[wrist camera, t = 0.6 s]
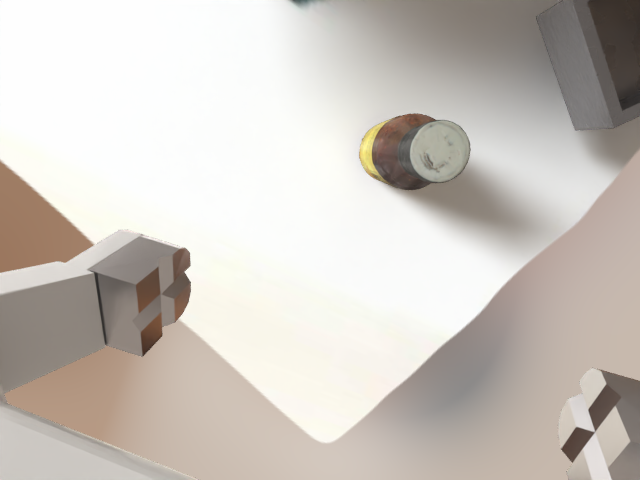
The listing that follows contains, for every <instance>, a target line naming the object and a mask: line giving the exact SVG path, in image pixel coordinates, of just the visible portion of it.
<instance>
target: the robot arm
mask: <svg viewBox="0 0 640 480" xmlns="http://www.w3.org/2000/svg"><path fill="white" fill-rule="evenodd" d="M189 267H190V252H189V251H188V250H187V249H186V248H184V247H181V246H178V245H175V244H171V243H168V242H165V241H162V240H159V239H156V238H153V237H149V236H145V235H143V234H139V233H136V232H133V231H129V230H118V231H117V232H115V233H113V234H112V235H110V236H109V237H107V238H105V239H104V240H102V241H100V242H99V243H97V244H96V245H94V246H92V247H91V248H89V249H88V250H86V251H84V252H83V253H81V254H80V255H78V256H76V257H74V258H73V259H71V260H70V261H68V262H66V263H62V262H59V261H58V262H53V263H48V264H43V265H38V266H33V267H28V268H23V269H18V270H13V271H8V272H3V273H0V480H199V479H197V478H194V477H191V476H189V475H186V474H184V473H181V472H179V471H176V470H174V469H171V468H169V467H166V466H164V465H161V464H158V463H156V462H154V461H151V460H149V459H146V458H144V457H141V456H138V455H136V454H133V453H131V452H128V451H126V450H123V449H121V448H118V447H116V446H113V445H111V444H108V443H106V442H103V441H101V440H98V439H96V438H93V437H90V436H88V435H86V434H83V433H80V432H78V431H75V430H73V429H70V428H68V427H65V426H63V425H60V424H58V423H55V422H53V421H50V420H48V419H45V418H42V417H40V416H38V415H35V414H32V413H30V412H27V411H25V410H22V409H20V408H17V407H15V406H12V405H10V404H8V403H7V400H6V397H5V395H4V393H6V392H8V391H10V390H13V389H15V388H17V387H19V386H22V385H24V384H26V383H28V382H30V381H33V380H35V379H37V378H39V377H42V376H44V375H46V374H48V373H50V372H52V371H55V370H57V369H59V368H61V367H63V366H66V365H68V364H70V363H72V362H74V361H77V360H79V359H81V358H83V357H85V356H88V355H90V354H92V353H94V352H96V351H98V350H101V349H103V348H105V345H106V346H109V347H113V348H116V349H119V350H122V351H125V352H128V353H132V354H135V355H138V356H141V357H143V356H144V355H145V354H146V353H147V352H148V351H149V350H150V349H151V348H152V346H153V345H154V344H155V343H156V342H157V341H158V340H159V339H160V338H161V337H162V327H164V326H166V325H169V324H172V323H175V322H176V321H177V320H178V318H179V317H180V316H181V315H182V314H183V312H184V310H185V308H186V306H187V304H188V302H189V297H190V292H191V282H190V281H189V279H188V277H187V276H186V274H185V273H184V272H185V271H186V270H187V269H188V268H189ZM579 384H580V387H581V390H582V393H581V394H579V395H576V396H574V397H571V398H569V399H568V400H567V402H566V404H565V405H564V407H563V409H562V410H561V413H560V418H559V423H558V438H559V443H560V447H561V450H562V451H563V452H564V453H565V454H566V456H567V457H568V458H569V459H570V461H571V462H572V464H571V466H570V468H569V469H568V470H567V476H568V480H640V381H638V380H634V379H631V378H627V377H624V376H620V375H617V374H614V373H610V372H607V371H603V370H599V369H596V368H591V369H590V370H588V371H587V372H586V373H585V374H584V375H583V377H582V378H581V380H580V381H579Z"/></svg>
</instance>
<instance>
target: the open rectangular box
mask: <svg viewBox="0 0 640 480" xmlns="http://www.w3.org/2000/svg"><path fill="white" fill-rule="evenodd" d="M536 19H537V22H538V25H539V28H540V31H541V33H542V36H543V39H544V42H545V45H546V48H547V51H548V54H549V57H550V59H551V62H552V65H553V68H554V71H555V74H556V77H557V80H558V82H559V85H560V88H561V91H562V94H563V97H564V100H565V103H566V106H567V108H568V111H569V114H570V117H571V120H572V123H573V126H574V129H575V131H578V130H592V129H605V128H615V127H617V126H619V125H621V124H624V123H626V122H628V121H630V120H632V119H634V118H636V117H639V116H640V0H562V1H561V2H559V3H558V4H556V5H554V6H553V7H551V8H550V9H548V10H546V11H545V12H543V13H542V14H540V15H538V16H537V17H536Z"/></svg>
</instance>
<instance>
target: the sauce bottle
mask: <svg viewBox="0 0 640 480" xmlns="http://www.w3.org/2000/svg"><path fill="white" fill-rule="evenodd" d="M469 156H470V142H469V139H468V137H467V135H466V133H465V132H464V130H463V129H462V128H461V127H460V126H459V125H457V124H455V123H453V122H450V121H447V120H435V119H433V118H431V117H429V116H427V115H422V114H407V115H403V116H398V117H395V118H392V119H390V120H387V121H385V122H382V123H380V124H378V125H376V126H374V127H372V128H371V129H370V130H369V131H368V132H367V133H366V135H365V136H364V138H363V139H362V143H361V146H360V152H359V158H360V161H361V163H362V166H363V168H364V169H365V171H366V172H367V173H368V174H369V175H370V176H371V177H373V178H375V179H377V180H379V181H382V182H384V183H386V184H389V185H391V186H394V187H396V188H400V189H405V190H415V189H420V188H423V187H425V186H427V185H429V184H430V183H443V182H447V181H449V180H452V179H453V178H455V177H456V176H457V175H459V174H460V173H461V172H462V171H463V170H464V168H465V166H466V164H467V162H468V160H469Z"/></svg>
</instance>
